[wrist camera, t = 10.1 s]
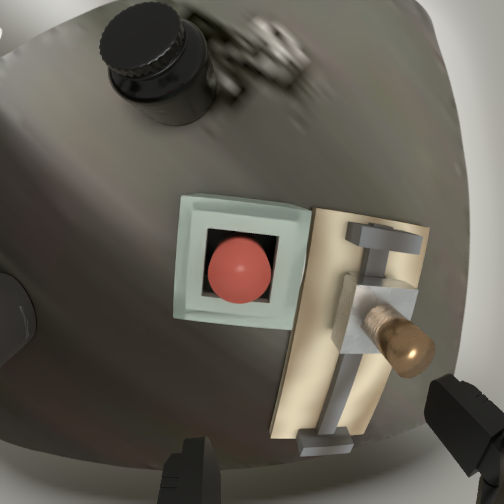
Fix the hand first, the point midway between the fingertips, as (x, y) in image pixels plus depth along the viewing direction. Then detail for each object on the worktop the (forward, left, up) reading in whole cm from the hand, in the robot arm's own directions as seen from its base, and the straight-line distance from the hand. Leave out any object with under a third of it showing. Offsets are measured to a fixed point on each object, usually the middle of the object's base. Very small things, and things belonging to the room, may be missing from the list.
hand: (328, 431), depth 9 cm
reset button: (-3, +2, -14) cm, 14 cm away
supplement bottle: (-10, +15, -19) cm, 27 cm away
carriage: (+9, -2, -17) cm, 19 cm away
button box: (-3, +2, -19) cm, 20 cm away
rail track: (+9, -7, -19) cm, 22 cm away
